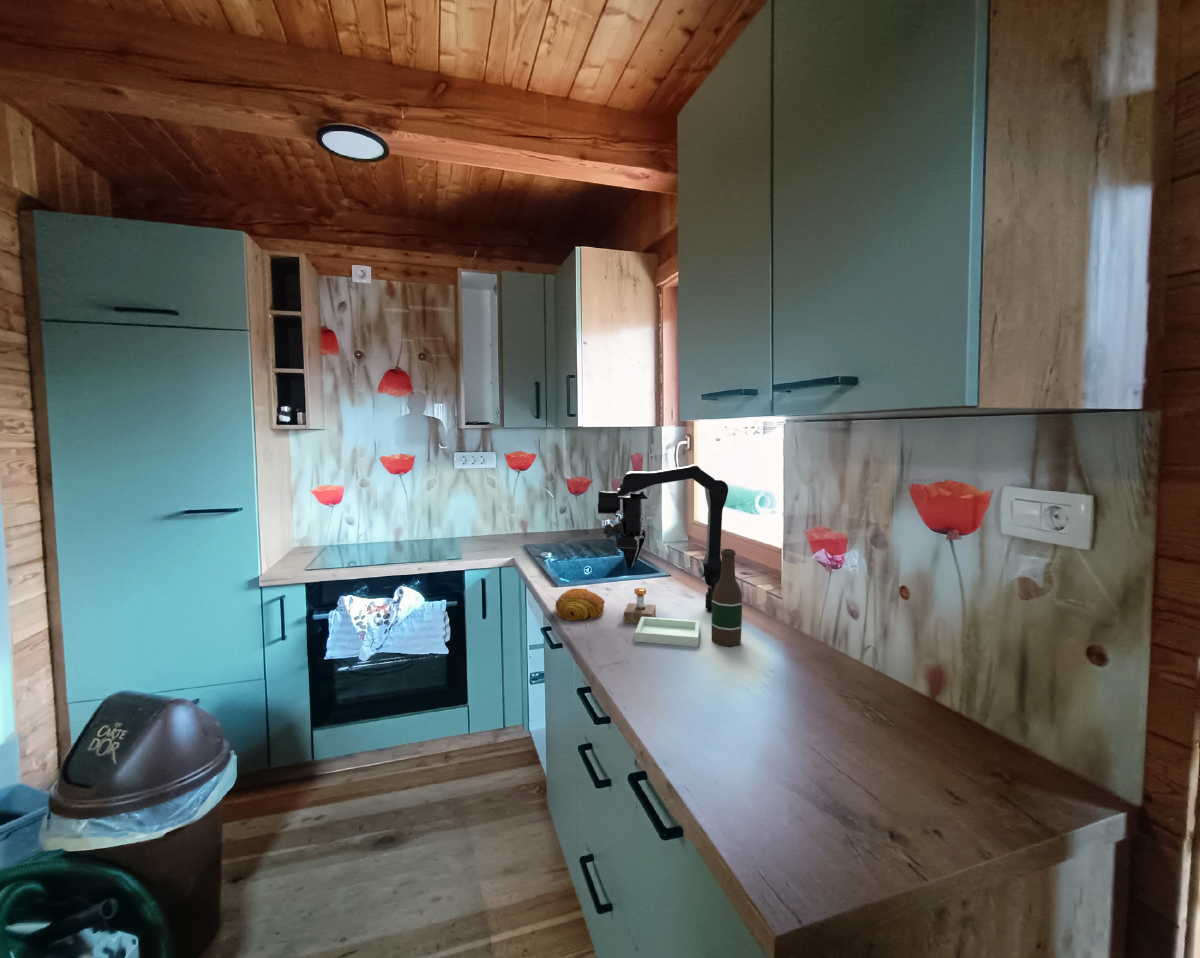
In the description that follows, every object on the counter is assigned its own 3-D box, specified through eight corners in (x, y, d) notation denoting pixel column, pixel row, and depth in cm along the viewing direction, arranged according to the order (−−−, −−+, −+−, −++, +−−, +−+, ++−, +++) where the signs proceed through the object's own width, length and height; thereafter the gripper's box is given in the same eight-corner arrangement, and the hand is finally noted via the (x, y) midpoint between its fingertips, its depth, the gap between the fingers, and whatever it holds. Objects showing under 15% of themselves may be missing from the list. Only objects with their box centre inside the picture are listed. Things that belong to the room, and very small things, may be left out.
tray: (699, 629, 146) (699, 620, 146) (697, 646, 135) (698, 637, 134) (641, 624, 150) (641, 616, 150) (634, 641, 138) (634, 632, 138)
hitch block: (655, 614, 158) (655, 604, 158) (652, 624, 150) (652, 614, 150) (628, 612, 160) (628, 603, 159) (624, 622, 152) (624, 611, 152)
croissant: (549, 626, 155) (547, 601, 153) (565, 602, 169) (564, 579, 168) (598, 630, 151) (596, 603, 149) (610, 605, 166) (609, 581, 164)
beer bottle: (705, 641, 138) (706, 549, 136) (720, 633, 144) (722, 545, 141) (732, 650, 133) (734, 554, 130) (747, 641, 138) (749, 549, 136)
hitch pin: (646, 617, 156) (647, 588, 155) (645, 621, 153) (645, 591, 152) (635, 616, 157) (635, 587, 156) (633, 620, 154) (633, 591, 153)
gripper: (612, 508, 171) (612, 556, 173) (598, 518, 153) (598, 571, 155) (647, 509, 169) (647, 558, 170) (636, 519, 151) (636, 573, 152)
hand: (632, 564), depth 162 cm, fingers open, 9 cm apart
